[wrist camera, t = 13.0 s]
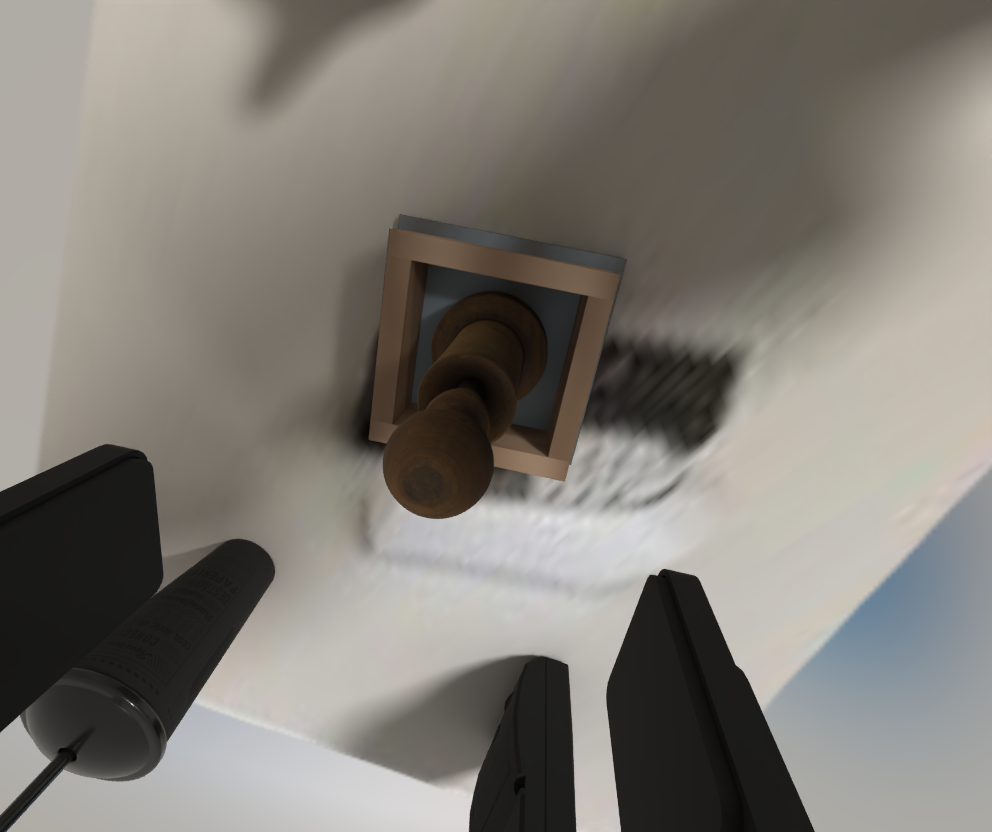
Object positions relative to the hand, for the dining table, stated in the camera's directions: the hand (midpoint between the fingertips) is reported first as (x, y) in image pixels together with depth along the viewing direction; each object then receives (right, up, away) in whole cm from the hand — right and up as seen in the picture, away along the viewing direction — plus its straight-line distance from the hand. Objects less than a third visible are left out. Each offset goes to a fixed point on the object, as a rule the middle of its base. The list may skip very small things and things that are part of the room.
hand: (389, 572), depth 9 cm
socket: (+2, +7, +21) cm, 22 cm away
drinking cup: (-18, -9, +29) cm, 35 cm away
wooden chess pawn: (+2, +7, +20) cm, 21 cm away
